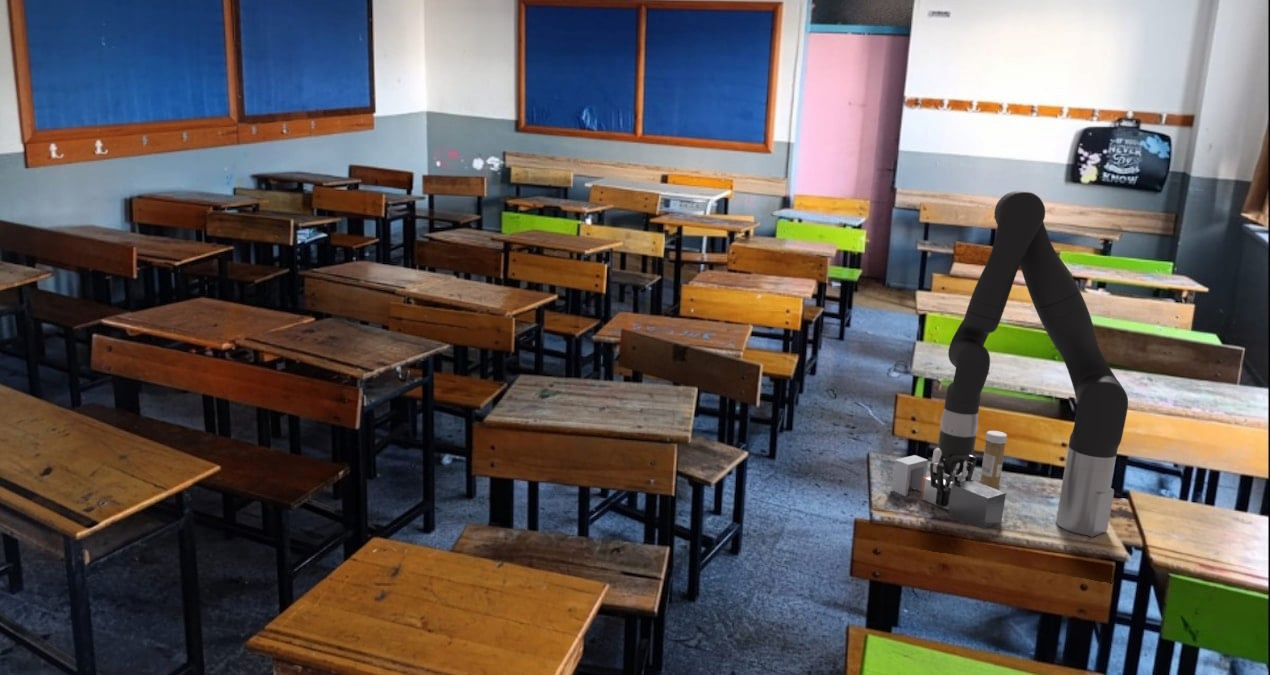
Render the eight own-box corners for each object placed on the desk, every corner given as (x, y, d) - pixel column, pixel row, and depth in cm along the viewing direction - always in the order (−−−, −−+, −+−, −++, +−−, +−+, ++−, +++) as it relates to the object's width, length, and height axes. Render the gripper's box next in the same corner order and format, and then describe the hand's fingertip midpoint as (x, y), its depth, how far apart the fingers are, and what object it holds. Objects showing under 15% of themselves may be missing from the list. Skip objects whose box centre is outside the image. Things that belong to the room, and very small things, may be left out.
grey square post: (993, 520, 204) (997, 498, 203) (982, 524, 201) (985, 502, 200) (931, 495, 216) (934, 474, 215) (920, 498, 214) (923, 477, 213)
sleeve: (1001, 522, 204) (1005, 493, 202) (983, 528, 200) (988, 498, 198) (965, 508, 210) (970, 479, 209) (948, 513, 207) (952, 484, 205)
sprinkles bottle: (1002, 491, 223) (1011, 436, 220) (984, 490, 222) (992, 435, 219) (993, 483, 227) (1001, 430, 224) (975, 483, 226) (983, 429, 224)
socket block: (923, 490, 220) (928, 460, 218) (904, 496, 216) (908, 464, 214) (910, 485, 223) (914, 455, 221) (891, 490, 218) (895, 459, 217)
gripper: (952, 439, 200) (942, 515, 203) (993, 430, 208) (982, 503, 212) (923, 429, 205) (913, 503, 209) (963, 420, 214) (953, 492, 217)
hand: (948, 503), depth 210 cm, fingers open, 4 cm apart
